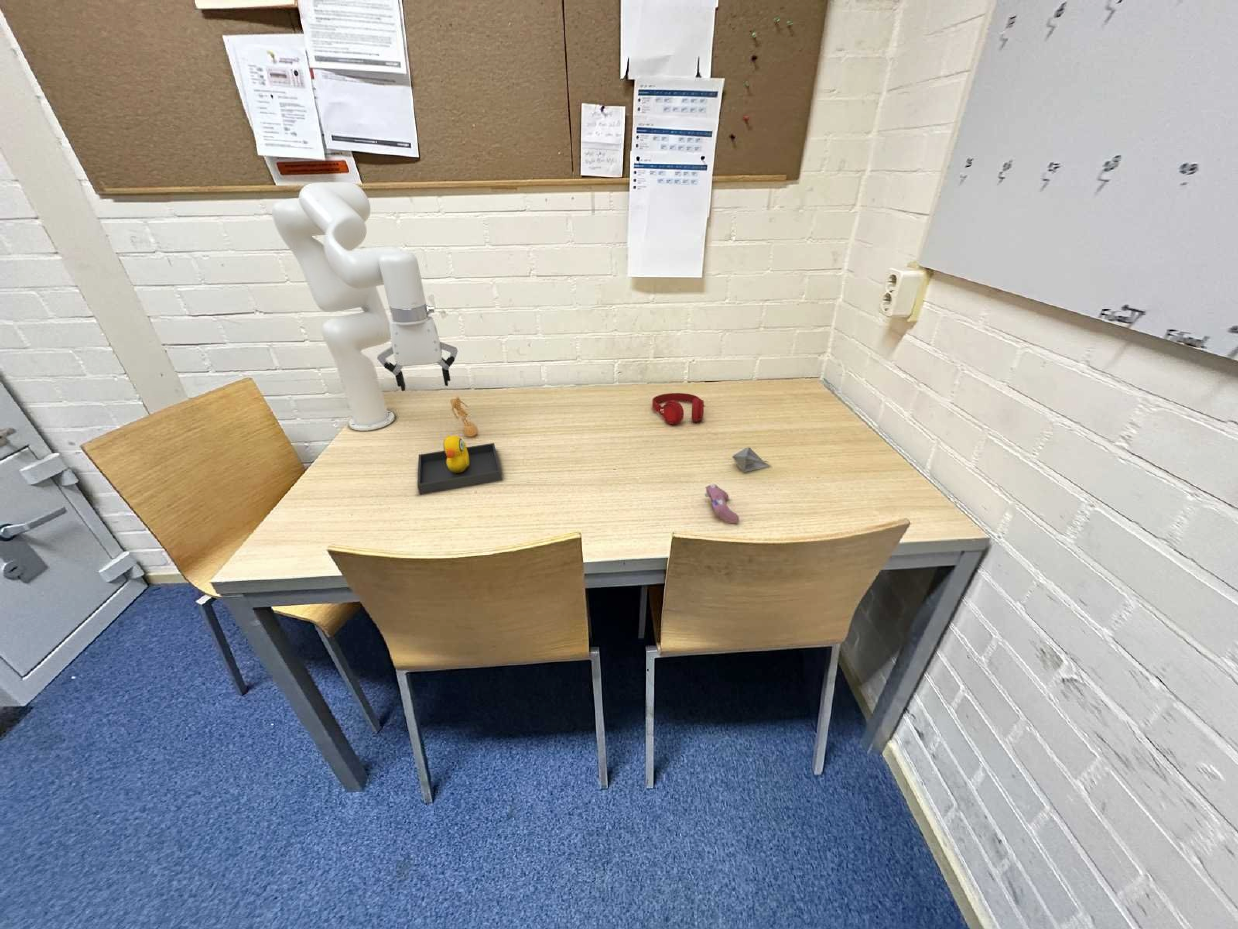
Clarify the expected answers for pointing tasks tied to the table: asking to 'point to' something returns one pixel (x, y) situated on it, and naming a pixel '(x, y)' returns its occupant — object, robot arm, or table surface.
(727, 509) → the pink elongated piece
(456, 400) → the figurine
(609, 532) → the table surface
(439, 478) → the pan
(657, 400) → the headphones
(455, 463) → the duckling
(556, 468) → the table surface
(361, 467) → the table surface
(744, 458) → the paper boat
